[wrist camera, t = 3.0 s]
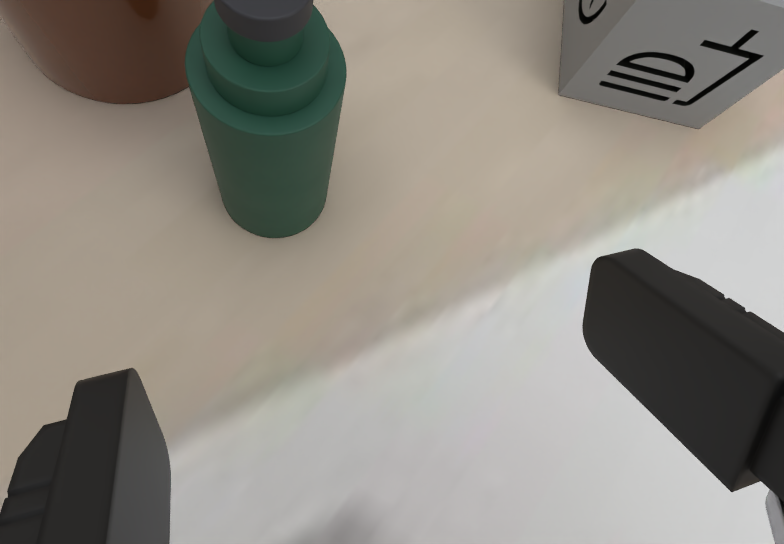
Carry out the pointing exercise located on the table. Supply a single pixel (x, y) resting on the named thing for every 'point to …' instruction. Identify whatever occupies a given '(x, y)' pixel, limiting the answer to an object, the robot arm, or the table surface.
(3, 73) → the table surface
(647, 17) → the icon cube
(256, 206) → the green bottle
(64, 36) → the brown bottle
